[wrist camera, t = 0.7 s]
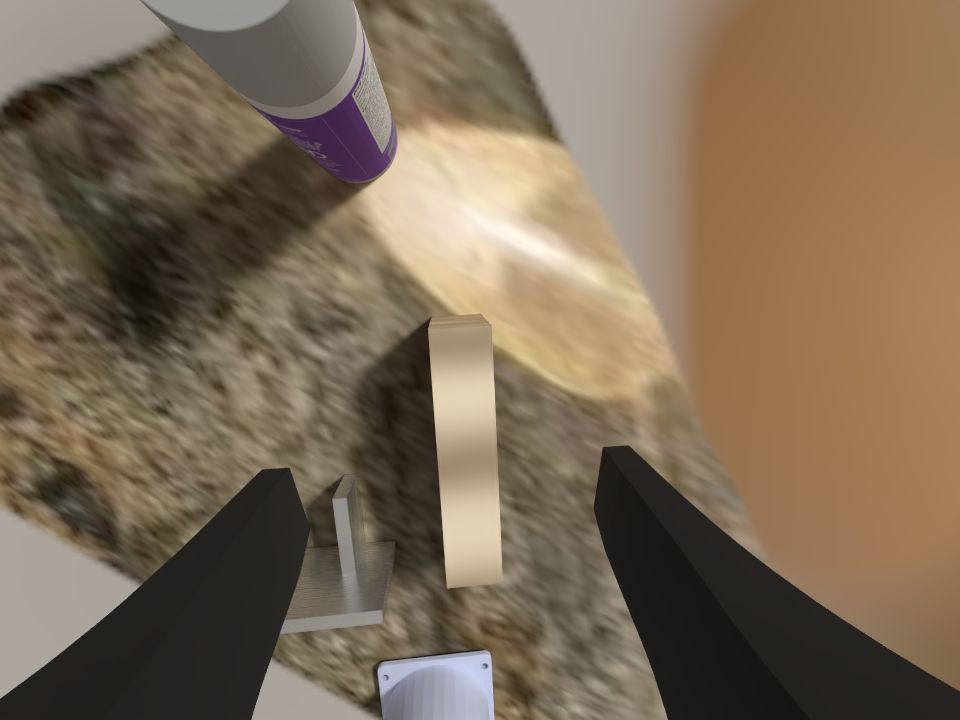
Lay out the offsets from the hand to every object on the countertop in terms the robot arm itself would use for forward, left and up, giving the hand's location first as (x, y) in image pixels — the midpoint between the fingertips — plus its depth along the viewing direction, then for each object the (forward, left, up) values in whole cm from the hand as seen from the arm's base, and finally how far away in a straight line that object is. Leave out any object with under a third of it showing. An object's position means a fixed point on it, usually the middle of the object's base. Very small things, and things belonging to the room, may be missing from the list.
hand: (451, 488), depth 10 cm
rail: (-5, -1, -17) cm, 17 cm away
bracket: (-10, +9, -16) cm, 21 cm away
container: (+12, +4, -17) cm, 21 cm away
